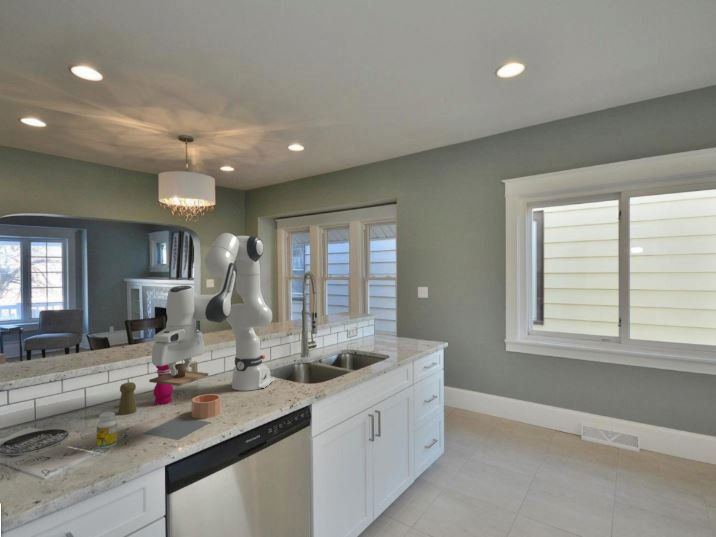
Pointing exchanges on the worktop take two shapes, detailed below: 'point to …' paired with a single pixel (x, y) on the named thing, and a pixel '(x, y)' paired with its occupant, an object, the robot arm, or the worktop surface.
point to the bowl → (206, 406)
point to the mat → (176, 428)
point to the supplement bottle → (106, 430)
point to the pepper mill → (163, 387)
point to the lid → (179, 376)
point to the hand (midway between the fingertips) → (179, 373)
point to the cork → (127, 399)
